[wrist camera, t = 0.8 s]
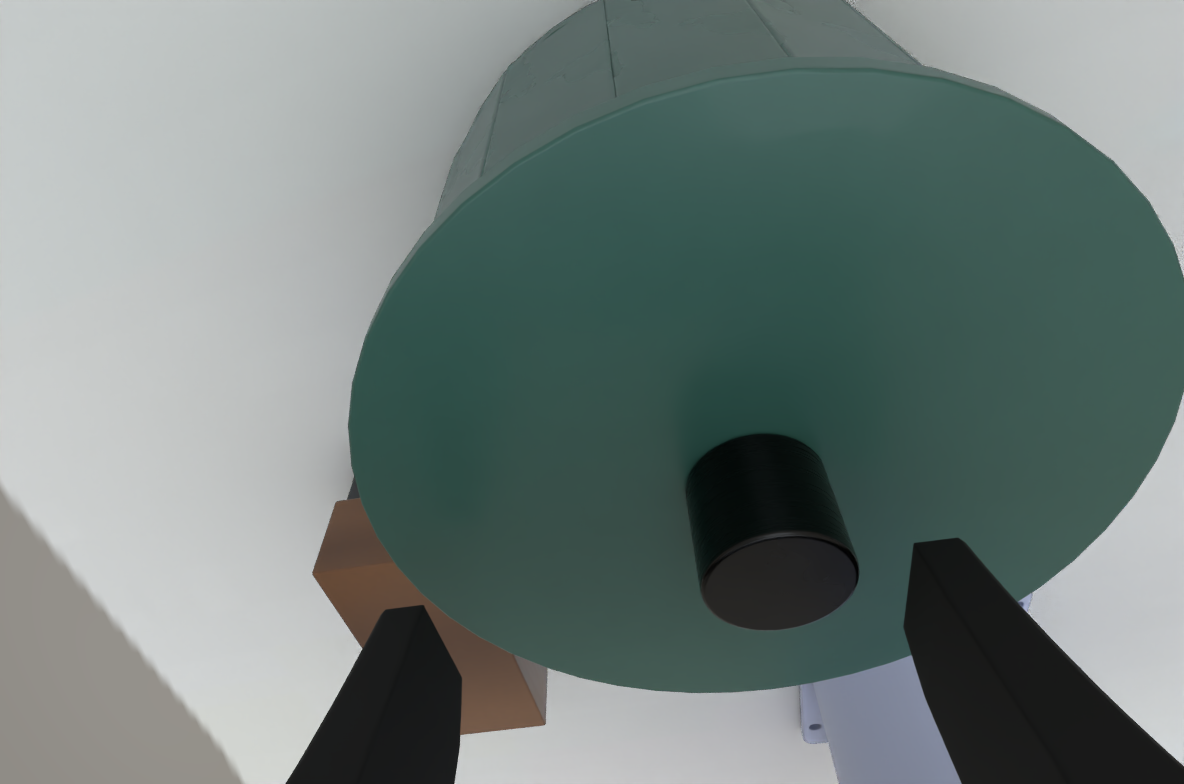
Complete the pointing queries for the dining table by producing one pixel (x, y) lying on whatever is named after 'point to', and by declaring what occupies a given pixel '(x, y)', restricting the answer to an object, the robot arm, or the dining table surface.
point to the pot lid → (764, 371)
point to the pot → (648, 61)
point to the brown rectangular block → (374, 583)
